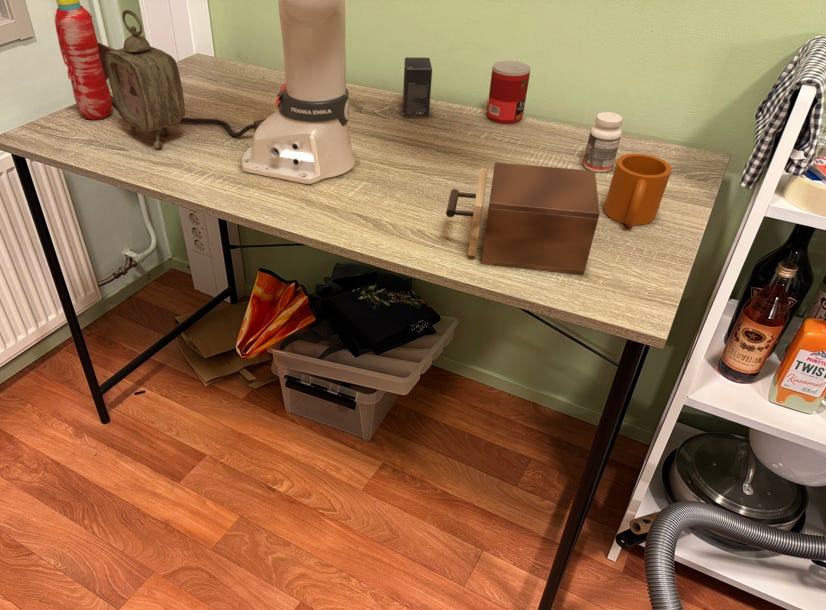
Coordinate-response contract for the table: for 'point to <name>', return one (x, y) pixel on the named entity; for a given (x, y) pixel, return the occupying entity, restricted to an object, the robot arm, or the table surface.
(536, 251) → the cabinet
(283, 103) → the robot arm
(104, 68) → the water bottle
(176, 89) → the tabletop clock
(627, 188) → the mug
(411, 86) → the box
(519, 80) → the canned food
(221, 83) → the table surface
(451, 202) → the drawer
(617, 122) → the pill bottle
